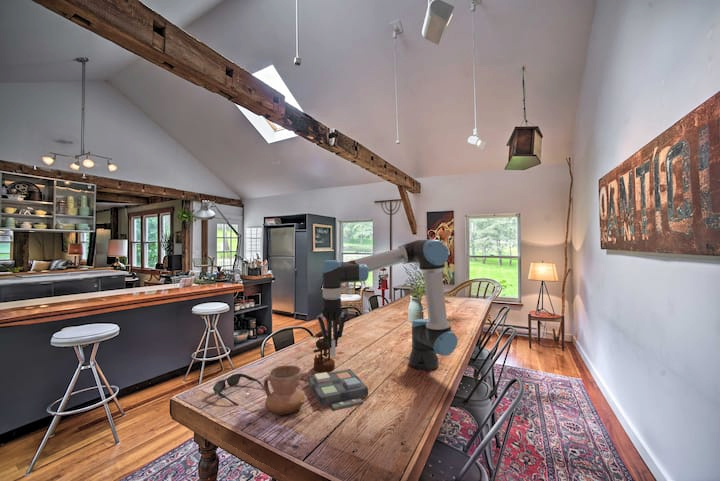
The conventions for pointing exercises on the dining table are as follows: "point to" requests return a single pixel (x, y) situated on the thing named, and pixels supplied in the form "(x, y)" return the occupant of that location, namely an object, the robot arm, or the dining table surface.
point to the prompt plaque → (346, 403)
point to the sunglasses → (231, 384)
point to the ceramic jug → (284, 390)
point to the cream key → (322, 377)
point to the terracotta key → (343, 375)
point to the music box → (320, 362)
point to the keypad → (342, 392)
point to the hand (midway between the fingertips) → (332, 355)
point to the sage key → (329, 389)
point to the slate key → (352, 383)
